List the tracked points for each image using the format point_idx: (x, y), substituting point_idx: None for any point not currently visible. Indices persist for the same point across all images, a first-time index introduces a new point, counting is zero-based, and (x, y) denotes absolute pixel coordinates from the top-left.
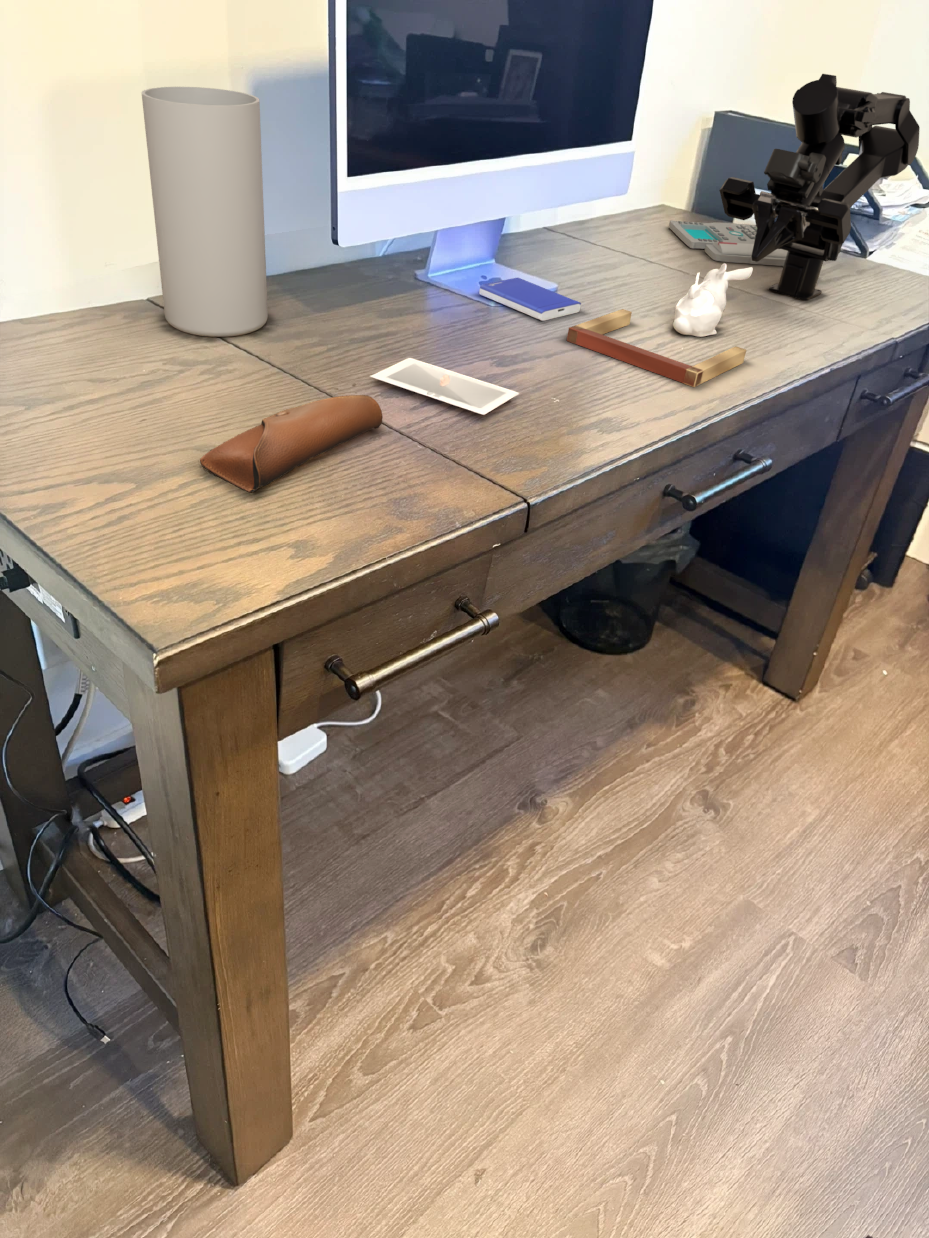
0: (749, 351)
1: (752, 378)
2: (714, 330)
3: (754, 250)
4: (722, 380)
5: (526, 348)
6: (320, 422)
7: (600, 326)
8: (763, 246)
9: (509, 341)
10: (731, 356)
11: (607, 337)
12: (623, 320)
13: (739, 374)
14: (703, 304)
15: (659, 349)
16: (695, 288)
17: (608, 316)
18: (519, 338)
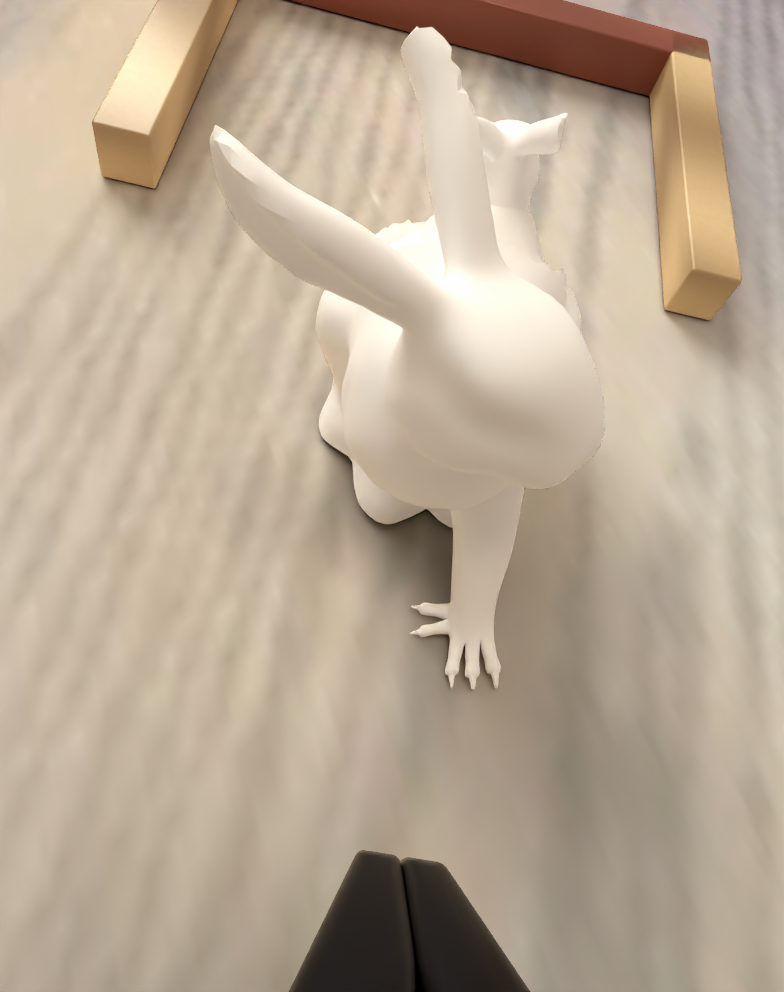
0: (101, 317)
1: (36, 74)
2: (331, 400)
3: (453, 916)
4: (141, 25)
5: (708, 9)
6: None
7: (671, 124)
8: (338, 971)
9: (769, 28)
10: (138, 39)
11: (576, 20)
12: (675, 244)
13: (93, 85)
14: (424, 229)
15: None
16: (499, 121)
17: (709, 174)
18: (772, 52)
